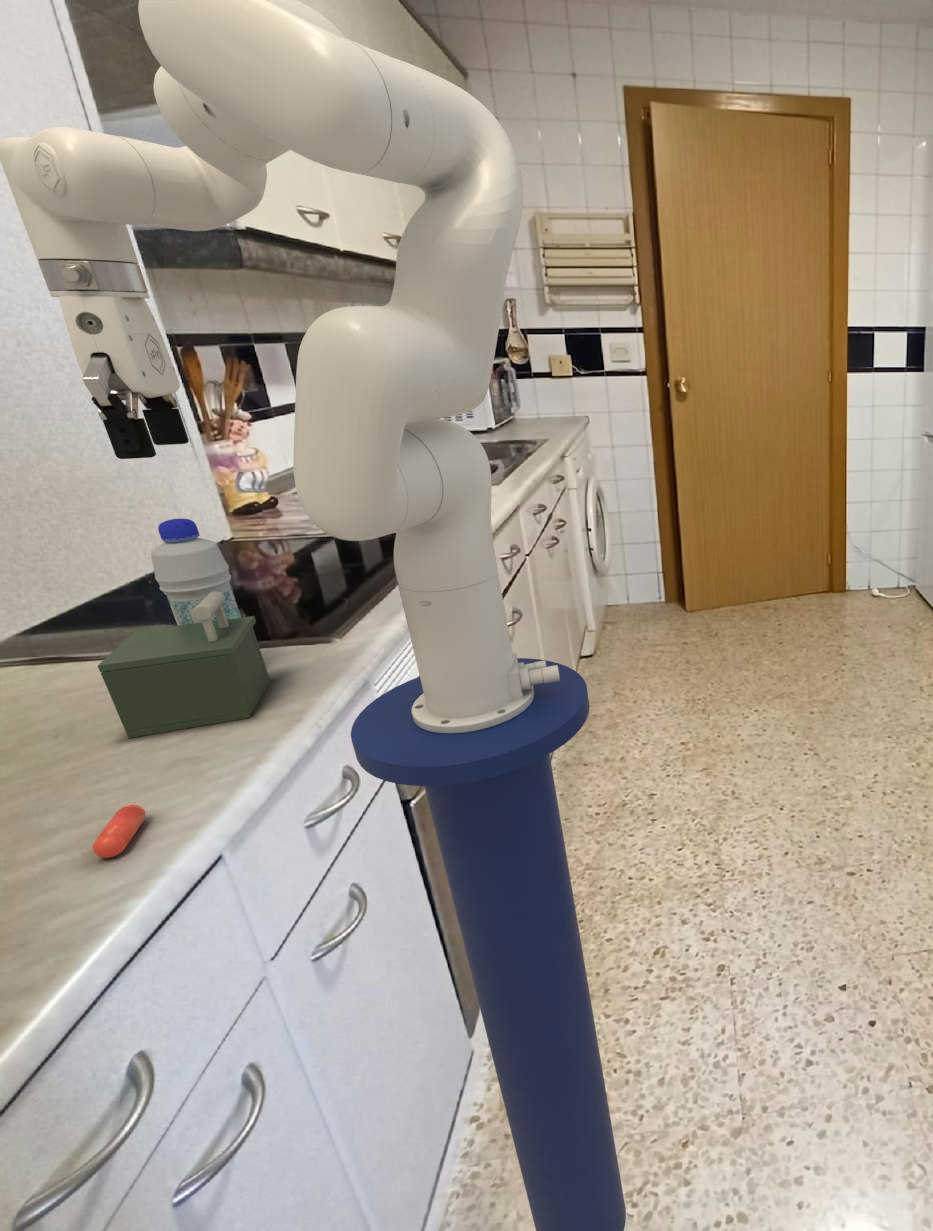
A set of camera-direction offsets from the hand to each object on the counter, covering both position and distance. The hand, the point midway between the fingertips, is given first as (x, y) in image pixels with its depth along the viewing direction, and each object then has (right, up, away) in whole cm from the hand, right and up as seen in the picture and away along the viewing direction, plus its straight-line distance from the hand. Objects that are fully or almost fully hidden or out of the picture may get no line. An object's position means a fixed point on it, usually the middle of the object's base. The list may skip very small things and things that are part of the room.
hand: (155, 450), depth 80 cm
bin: (+4, -29, +2) cm, 29 cm away
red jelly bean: (+15, -38, -19) cm, 45 cm away
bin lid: (+4, -22, -1) cm, 22 cm away
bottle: (+1, -26, +9) cm, 28 cm away
